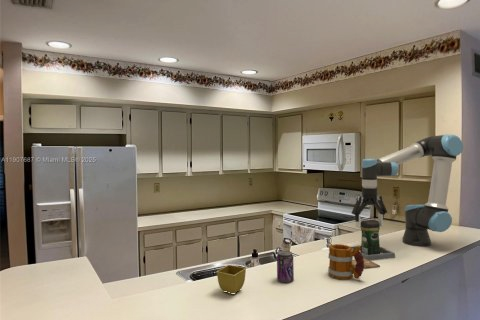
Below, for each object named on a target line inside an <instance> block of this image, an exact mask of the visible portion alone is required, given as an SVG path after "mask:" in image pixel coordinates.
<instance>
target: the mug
mask: <svg viewBox="0 0 480 320" xmlns="http://www.w3.org/2000/svg"><path fill="white" fill-rule="evenodd" d="M355 246H356V247H355V248H354V249H353V250H352V248H351V246H350V245H348V244H347V245H346V244H341V243H337V244H336V243H335V244H331V245H329V247H328V252H329V253H328V259H329V264H328V265H329V266H328V267H327V268H328V269H327V271H328V276H330V277H331V278H333V279H335V280H336V279H337V280H343V281H344V280H350V279H352V278H355V279H356V280H358V279H360V278H361V277H362V274H363V272H364V270H365V269H364V260H363V256H362V253H361V251H360V248H361V247H360V246H361V245H355ZM353 258H354V259H353ZM352 260H356V262H357V263H356V267H354V266H353V265H352Z"/></svg>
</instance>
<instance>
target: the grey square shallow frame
mask: <svg viewBox="0 0 480 320" xmlns="http://www.w3.org/2000/svg"><path fill="white" fill-rule="evenodd" d="M356 246H357V245H353V246H350V247H351V248H352V250H353V249H354V248H355V247H356ZM359 246H360V247H361V245H359ZM359 252H361V248H360V251H359ZM362 256H363V259H364V258H365V259H368V260H370V261H379V260H387V259H395V258H396V253H395V252H394V251H391V250H389V249H386V247H384V246H380V254H374V255H365V254H363V253H362Z"/></svg>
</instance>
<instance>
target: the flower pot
mask: <svg viewBox="0 0 480 320" xmlns="http://www.w3.org/2000/svg"><path fill="white" fill-rule="evenodd" d="M246 270H247V268H245V267H241V266H237V265H234V264H233V265H232V264H228V265H226V266H224V267H222V268H220V269H218V270H217V271H216V276H217V282H218V286H219V288H220V290H221V291H222V290H223V291H227V292H230V293H236V292H237V291H239V290H240V289H241V290H242V288H243V286H244V284H245V280H246ZM241 290H240V291H241ZM223 291H222V292H223ZM240 291H239V292H240ZM237 293H238V292H237ZM237 293H236V294H237Z"/></svg>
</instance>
